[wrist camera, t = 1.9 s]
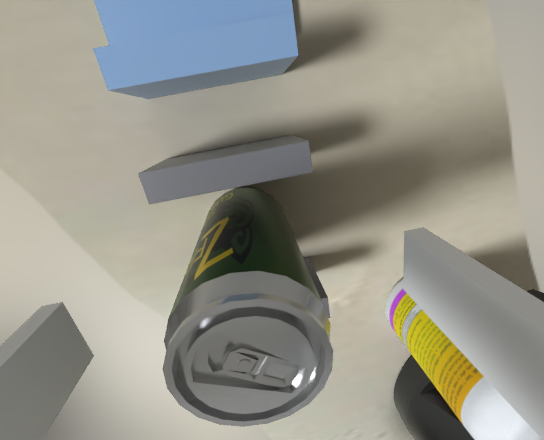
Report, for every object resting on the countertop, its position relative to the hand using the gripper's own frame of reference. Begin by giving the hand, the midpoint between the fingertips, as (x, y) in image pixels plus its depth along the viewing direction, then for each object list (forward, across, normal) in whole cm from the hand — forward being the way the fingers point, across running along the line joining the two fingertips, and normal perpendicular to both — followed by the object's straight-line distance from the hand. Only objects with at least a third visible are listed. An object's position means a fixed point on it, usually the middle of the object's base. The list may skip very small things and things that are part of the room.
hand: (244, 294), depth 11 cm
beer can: (+9, 0, +1) cm, 9 cm away
